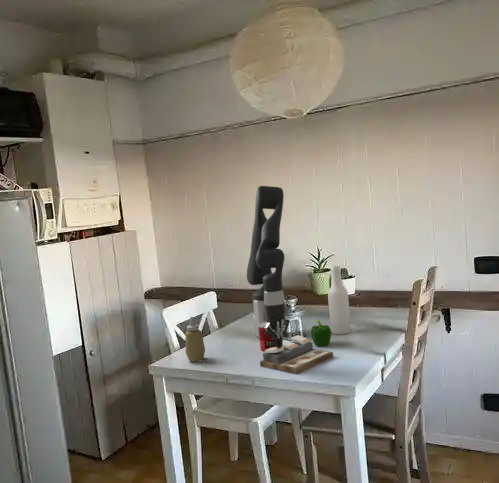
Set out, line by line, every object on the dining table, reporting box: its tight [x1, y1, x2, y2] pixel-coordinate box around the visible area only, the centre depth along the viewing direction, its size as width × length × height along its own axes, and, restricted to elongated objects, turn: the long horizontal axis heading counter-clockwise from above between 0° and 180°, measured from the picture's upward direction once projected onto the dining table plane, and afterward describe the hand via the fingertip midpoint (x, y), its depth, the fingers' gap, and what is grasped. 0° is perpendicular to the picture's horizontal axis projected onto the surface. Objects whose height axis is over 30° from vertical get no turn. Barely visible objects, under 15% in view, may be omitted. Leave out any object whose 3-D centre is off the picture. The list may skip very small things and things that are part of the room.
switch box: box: [259, 341, 334, 375], centre depth 218 cm, size 18×22×5 cm
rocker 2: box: [282, 339, 298, 350], centre depth 221 cm, size 6×4×2 cm, turn 45°
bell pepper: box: [310, 320, 332, 347], centre depth 237 cm, size 8×8×10 cm
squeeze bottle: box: [184, 316, 206, 363], centre depth 233 cm, size 8×8×18 cm
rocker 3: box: [290, 334, 311, 345], centre depth 226 cm, size 6×4×2 cm, turn 45°
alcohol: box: [327, 264, 352, 336], centre depth 252 cm, size 9×9×30 cm
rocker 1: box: [264, 347, 284, 354], centre depth 216 cm, size 6×4×2 cm, turn 45°
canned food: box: [258, 322, 275, 353], centre depth 238 cm, size 8×8×11 cm
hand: (278, 347), depth 214 cm, fingers closed
